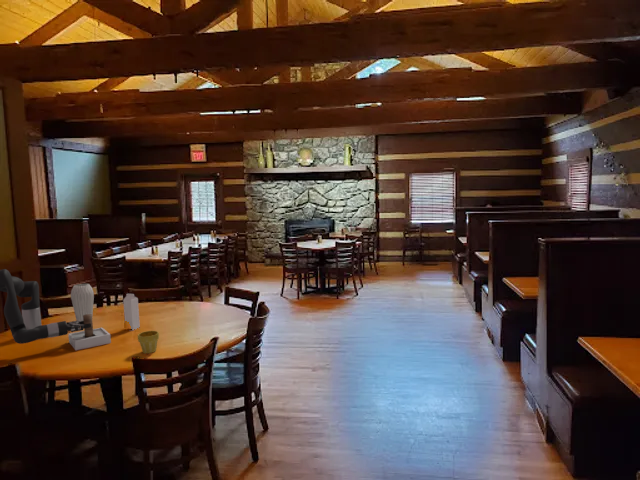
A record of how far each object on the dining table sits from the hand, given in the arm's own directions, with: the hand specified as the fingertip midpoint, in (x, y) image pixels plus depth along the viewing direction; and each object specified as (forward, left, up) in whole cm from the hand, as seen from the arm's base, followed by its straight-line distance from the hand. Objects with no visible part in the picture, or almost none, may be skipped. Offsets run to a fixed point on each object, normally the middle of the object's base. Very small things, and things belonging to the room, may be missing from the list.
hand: (89, 323), depth 266 cm
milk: (-18, +23, -11) cm, 31 cm away
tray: (0, 0, -11) cm, 11 cm away
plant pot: (+32, +30, -11) cm, 45 cm away
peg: (0, -1, -11) cm, 11 cm away
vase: (-41, -5, -11) cm, 43 cm away
